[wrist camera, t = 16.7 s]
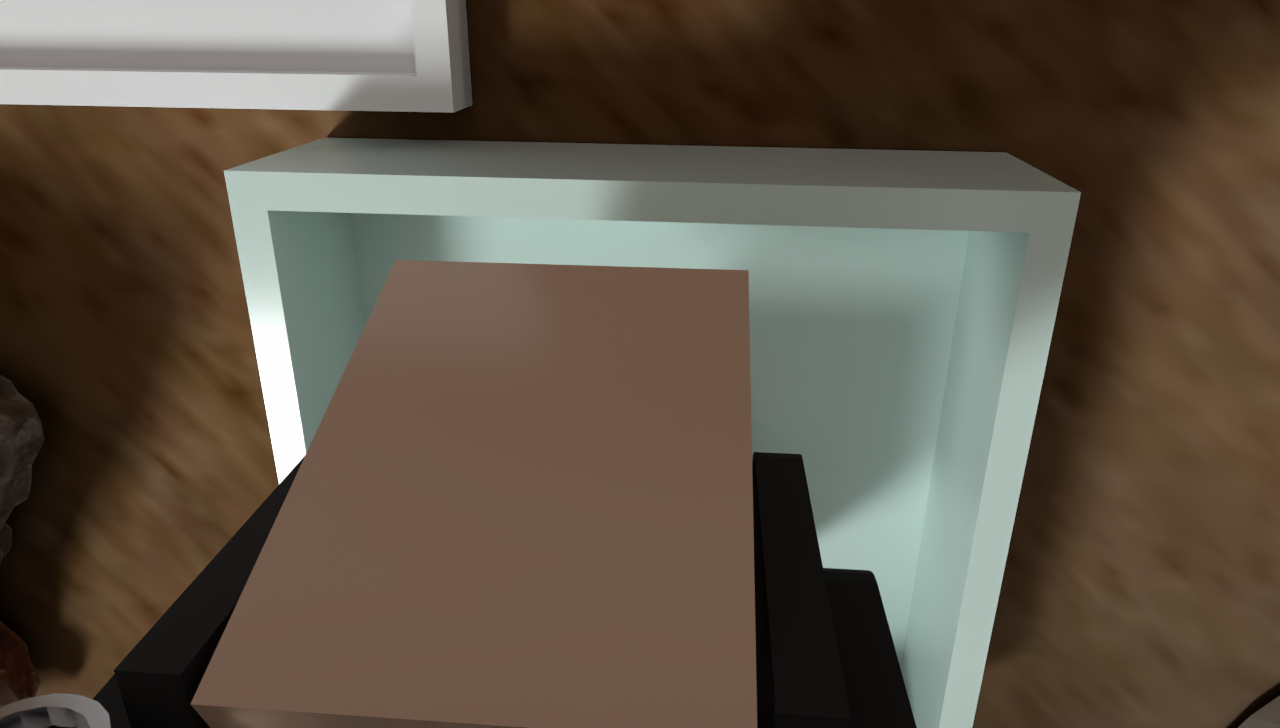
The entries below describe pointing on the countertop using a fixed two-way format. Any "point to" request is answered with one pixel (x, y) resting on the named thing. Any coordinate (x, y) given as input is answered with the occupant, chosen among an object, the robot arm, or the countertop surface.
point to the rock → (3, 456)
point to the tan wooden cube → (515, 514)
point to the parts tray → (237, 54)
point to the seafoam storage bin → (778, 315)
